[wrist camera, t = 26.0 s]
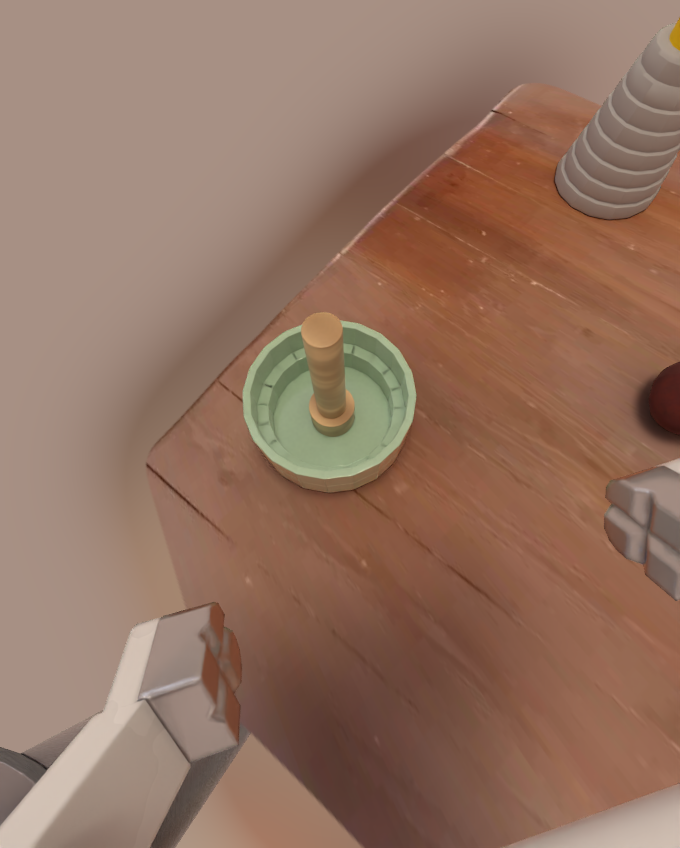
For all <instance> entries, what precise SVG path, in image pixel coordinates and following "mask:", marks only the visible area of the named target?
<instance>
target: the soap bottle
mask: <svg viewBox="0 0 680 848" xmlns="http://www.w3.org/2000/svg"><path fill="white" fill-rule="evenodd" d="M679 150H680V18H679V20H678V21H677V23H673V24H670V25H668V26H666V27H664V28H662V29H661V30H660V31H659V32H658V33H657V34H656V35H655V36H654V37H653V39H652V40H651V41H650V43H649V44H648V45H647V47H646V48H645V50H644V51H643V52H642V53H641V55H640V56H639V57H638V58H637V59H636V61H635V62H634V64H633V65H632V66H631V68H630V69H629V71H628V72H627V73H626V74H625V75H624V77H623V78H622V79H621V81H620V82H619V84H618V85H617V87H616V88H615V90H614V91H613V92H612V93H611V94H610V95H609V97H608V98H607V99H606V101H605V102H604V103H603V105H602V106H601V108H600V109H599V110H598V111H597V112H596V114H595V115H594V117H593V118H592V119H591V121H590V122H589V124H588V125H587V126H586V127H585V128H584V130H583V131H582V132H581V134H580V135H579V137H578V138H577V139H576V141H575V142H574V143H573V144H572V146H571V147H570V148H569V150H568V151H567V153H566V154H565V155H564V156H563V157H562V159H561V160H560V162H559V163H558V165H557V170H556V175H555V183H556V186H557V188H558V191H559V194H560V195H561V196H562V197H563V198H564V199H565V200H566V201H567V202H568V203H569V205H570V206H571V207H573V208H575V209H577V210H579V211H581V212H583V213H585V214H587V215H589V216H593V217H598V218H603V219H608V220H610V219H621V218H629V217H631V216H633V215H635V214H637V213H639V212H641V211H643V210H645V209H646V208H647V207H648V206H649V205H650V203H651V202H652V201H653V199H654V198H655V197H656V195H657V193H658V191H659V190H660V188H661V184H662V183H663V181H664V180H665V178H666V176H667V174H668V172H669V169H670V167H671V166H672V164H673V162H674V160H675V159H676V157H677V153H678V151H679Z"/></svg>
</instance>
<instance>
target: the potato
mask: <svg viewBox="0 0 680 848" xmlns="http://www.w3.org/2000/svg"><path fill="white" fill-rule="evenodd" d="M649 407H650V414H651V416H652V417H653V418H654V419H655V421H656V422H657V423H658V424H659V425H660V426H661V427H663V428H664V429H666V430H667V431H669V432H672V433H675V434H677V435H680V362H678V363H675V364H673V365H671V366H669V367H667V368H666V369H664V370H663V371H662V372H661V373H660V374H659V376H658V377H657V378H656V380H655V381H654V383H653V385H652V389H651V392H650V396H649Z"/></svg>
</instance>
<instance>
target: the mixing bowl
mask: <svg viewBox="0 0 680 848" xmlns="http://www.w3.org/2000/svg"><path fill="white" fill-rule="evenodd" d="M340 322H341V323H342V327H343V345H344V366H345V388H346V389H347V390H348V391H349V392H350V393H351V395H352V397H353V399H354V403H355V418H354V423H353V425H352V427H351V428H350V429H349V430H348V431H347V432H346V433H345V434H343V435H340V436H336V437H329V436H325V435H323V434H321V433H320V432H318V431H317V430H316V428H315V427H314V425H313V422H312V419H311V415H310V411H309V401H310V398H311V396H312V395H313V393H314V390H313V386H312V381H311V377H310V372H309V368H308V363H307V358H306V354H305V349H304V345H303V340H302V335H301V327H302V325H300V326H297V327H295V328H292V329H290V330H288V331H285V332H283V333H282V334H281V335H279V336H278V337H277V338H276V339H274V340H273V341H272V342H270V343H269V344H268V345H267V346H265V347H264V349H263V350H262V351H261V353H260V354H259V356H258V357H257V358H256V360H255V361H254V363H253V364H252V366H251V367H250V369H249V372H248V375H247V379H246V382H245V385H244V389H243V414H244V419H245V421H246V424H247V426H248V429H249V431H250V434H251V436H252V439H253V441H254V442H255V443H256V445H257V446H258V448H259V449H260V450H261V452H262V453H263V454H264V456H265V457H266V458H267V460H268V461H269V462H270V463H271V464H272V465H273V466H274V467H275V469H276V470H277V471H278V472H279V473H280V474H281V475H282V476H283V477H285V478H287V479H288V480H290V481H292V482H294V483H296V484H297V485H299V486H301V487H303V488H306V489H311V490H317V491H322V492H327V493H328V492H329V493H330V492H338V491H346V490H353V489H356V488H358V487H360V486H362V485H365V484H367V483H369V482H371V481H373V480H375V479H377V478H378V477H379V476H380V475H381V474H382V473H383V472H384V471H385V470H386V469H387V468H389V467H390V466H391V465H392V464H393V463H394V461H395V460H396V458H397V456H398V454H399V452H400V450H401V448H402V446H403V445H404V443H405V440H406V438H407V435H408V432H409V430H410V427H411V424H412V421H413V416H414V410H415V403H416V390H415V385H414V380H413V375H412V371H411V369H410V368H409V366H408V364H407V363H406V361H405V359H404V357H403V356H402V354H401V352H400V351H399V349H398V348H396V347H395V346H394V345H393V344H392V343H391V342H390V341H389V340H387V339H386V338H385V337H384V336H383V335H382V334H380V333H378V332H376V331H374V330H372V329H370V328H367V327H365V326H363V325H361V324H359V323H358V324H357V323H353V322H347V321H340Z"/></svg>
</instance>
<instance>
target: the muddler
mask: <svg viewBox="0 0 680 848" xmlns="http://www.w3.org/2000/svg"><path fill="white" fill-rule="evenodd" d="M301 335H302V340H303V345H304V349H305V354H306V358H307V363H308V368H309V372H310V377H311V381H312V386H313V390H314V393H313V395H312V396H311V398H310V401H309V411H310V415H311V419H312V422H313V425H314V427H315V428H316V430H317V431H318V432H320V433H321V434H323V435H325V436H329V437H336V436H340V435H343V434H345V433H346V432H347V431H348V430H349V429H350V428H351V427H352V425H353V423H354V418H355V403H354V399H353V397H352V395H351V393H350V392H349V391H348V390H347V389H346V388H345V366H344V345H343V327H342V323H341V322H340V320H339V319H338V318H337V317H336V316H335V315H333V314H331V313H327V312H318V313H314V314H312V315H310V316H309V317H307V318H306V319H305V321H304V322H303V324H302V327H301Z"/></svg>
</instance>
